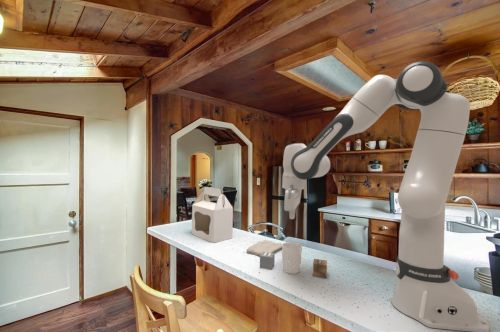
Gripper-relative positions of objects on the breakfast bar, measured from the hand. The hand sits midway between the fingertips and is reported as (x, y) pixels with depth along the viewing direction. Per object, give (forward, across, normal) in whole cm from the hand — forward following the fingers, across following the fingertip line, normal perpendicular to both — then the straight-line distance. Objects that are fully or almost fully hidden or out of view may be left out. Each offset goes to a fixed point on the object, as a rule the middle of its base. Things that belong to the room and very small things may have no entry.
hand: (292, 218), depth 98 cm
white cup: (+21, 0, 0) cm, 21 cm away
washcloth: (+22, +18, +14) cm, 32 cm away
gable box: (+22, +29, +50) cm, 61 cm away
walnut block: (+21, 0, -12) cm, 24 cm away
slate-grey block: (+21, 0, +10) cm, 23 cm away
